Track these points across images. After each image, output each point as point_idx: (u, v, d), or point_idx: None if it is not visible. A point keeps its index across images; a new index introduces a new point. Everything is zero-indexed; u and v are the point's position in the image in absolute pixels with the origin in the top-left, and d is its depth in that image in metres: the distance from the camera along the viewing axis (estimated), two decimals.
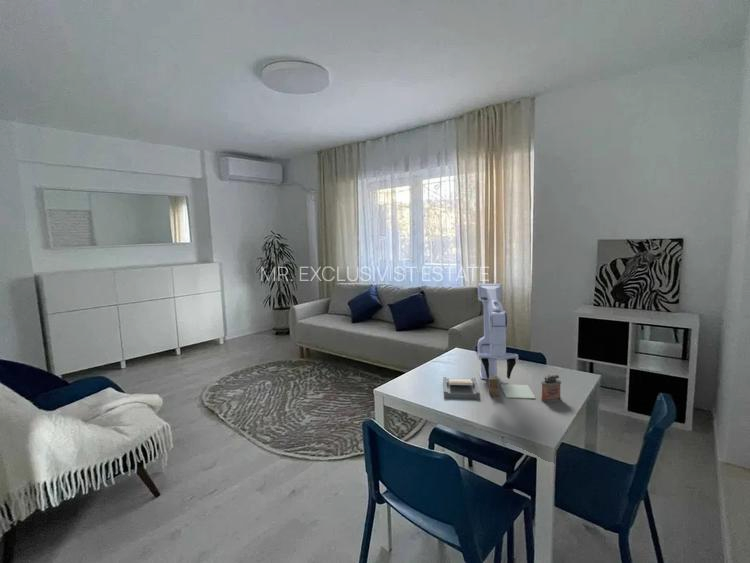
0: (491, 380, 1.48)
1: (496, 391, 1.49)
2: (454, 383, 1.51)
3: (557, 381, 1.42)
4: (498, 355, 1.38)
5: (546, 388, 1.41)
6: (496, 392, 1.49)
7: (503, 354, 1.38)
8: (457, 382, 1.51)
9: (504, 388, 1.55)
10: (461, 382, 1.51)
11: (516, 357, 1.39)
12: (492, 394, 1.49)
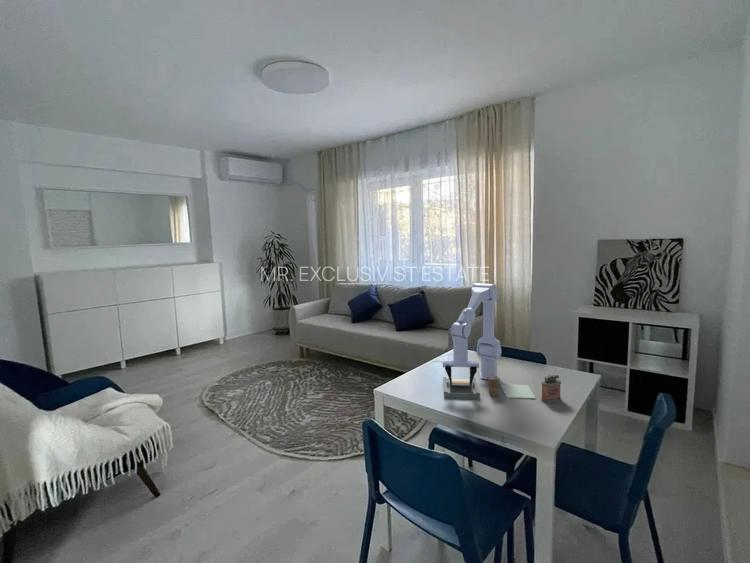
0: (491, 380, 1.48)
1: (496, 391, 1.49)
2: (454, 383, 1.51)
3: (557, 381, 1.42)
4: (460, 363, 1.47)
5: (546, 388, 1.41)
6: (496, 392, 1.49)
7: (465, 362, 1.47)
8: (457, 382, 1.51)
9: (504, 388, 1.55)
10: (461, 382, 1.51)
11: (477, 365, 1.48)
12: (492, 394, 1.49)
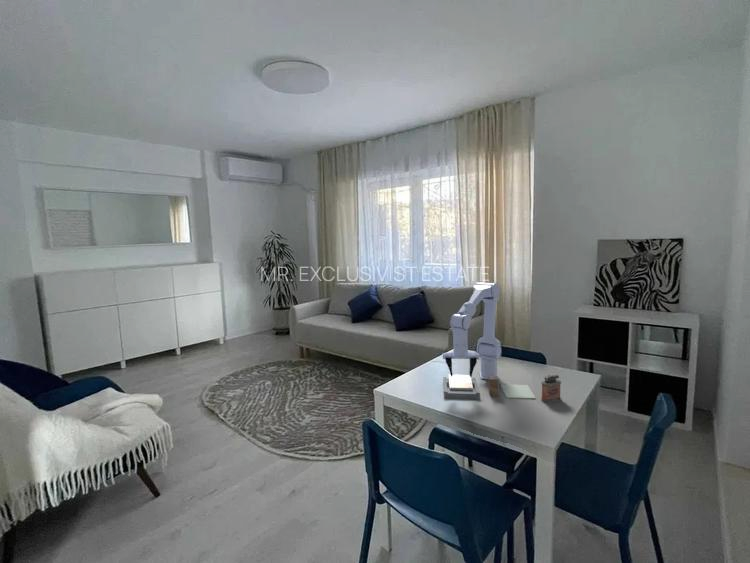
0: (491, 380, 1.48)
1: (496, 391, 1.49)
2: (454, 388, 1.51)
3: (557, 381, 1.42)
4: (460, 355, 1.47)
5: (546, 388, 1.41)
6: (496, 392, 1.49)
7: (465, 354, 1.47)
8: (457, 387, 1.51)
9: (504, 388, 1.55)
10: (461, 386, 1.51)
11: (477, 357, 1.48)
12: (492, 394, 1.49)
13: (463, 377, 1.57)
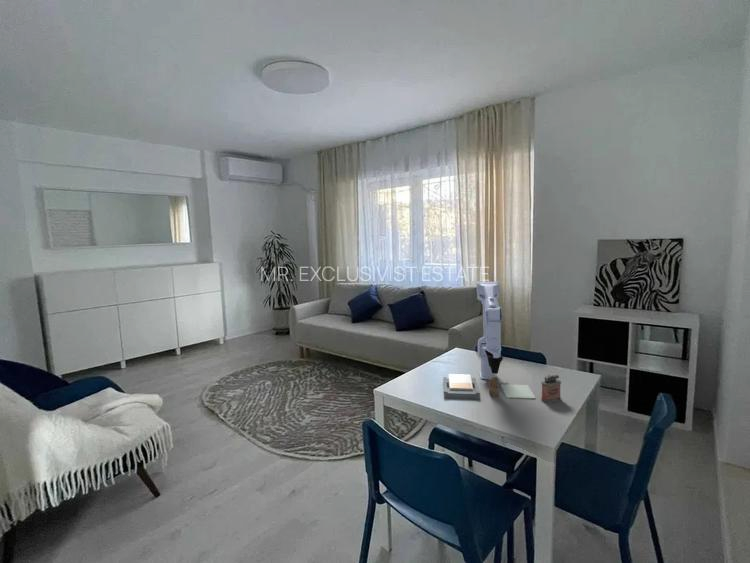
0: (491, 380, 1.48)
1: (496, 391, 1.49)
2: (454, 388, 1.51)
3: (557, 381, 1.42)
4: (485, 346, 1.49)
5: (546, 388, 1.41)
6: (496, 392, 1.49)
7: (487, 347, 1.47)
8: (457, 387, 1.51)
9: (504, 388, 1.55)
10: (461, 387, 1.51)
11: (493, 354, 1.42)
12: (492, 394, 1.49)
13: (463, 377, 1.57)
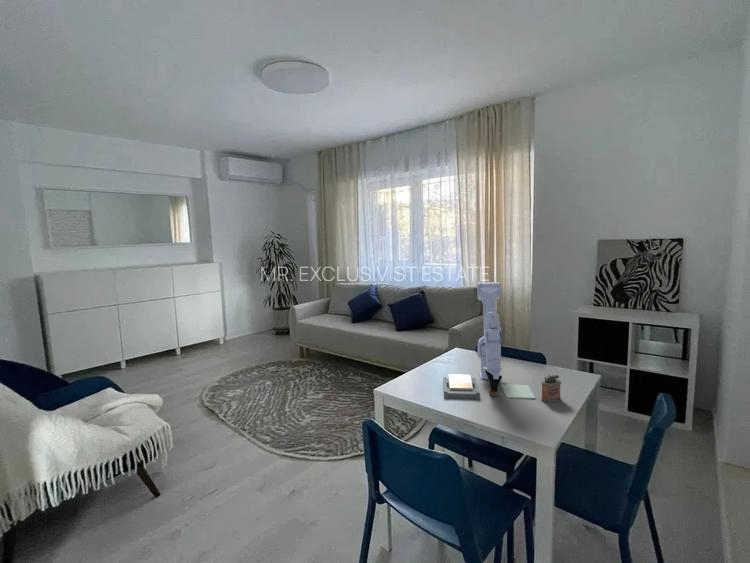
0: None
1: None
2: (454, 388, 1.51)
3: (557, 381, 1.42)
4: (486, 366, 1.50)
5: (546, 388, 1.41)
6: (496, 392, 1.49)
7: (488, 367, 1.48)
8: (457, 387, 1.51)
9: (504, 388, 1.55)
10: (461, 387, 1.51)
11: (493, 375, 1.43)
12: (492, 394, 1.49)
13: (463, 377, 1.57)
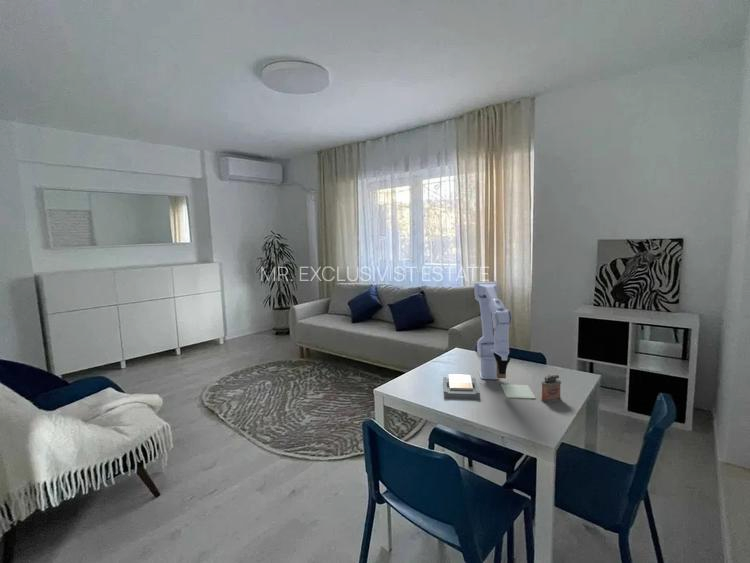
0: None
1: None
2: (454, 388, 1.51)
3: (557, 381, 1.42)
4: (494, 348, 1.50)
5: (546, 388, 1.41)
6: (504, 374, 1.48)
7: (496, 349, 1.48)
8: (457, 387, 1.51)
9: (504, 388, 1.55)
10: (461, 387, 1.51)
11: (501, 357, 1.43)
12: (500, 376, 1.49)
13: (463, 377, 1.57)
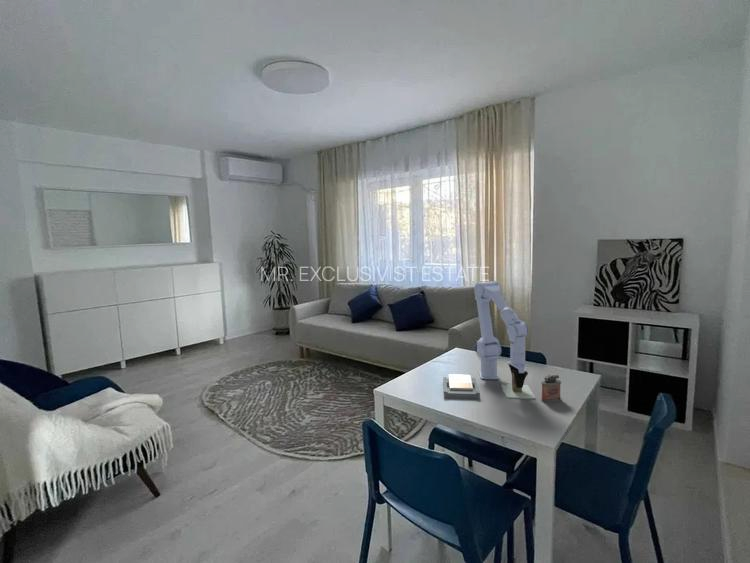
0: None
1: None
2: (454, 388, 1.51)
3: (557, 381, 1.42)
4: (510, 361, 1.51)
5: (546, 388, 1.41)
6: (520, 388, 1.50)
7: (512, 362, 1.49)
8: (457, 387, 1.51)
9: (504, 388, 1.55)
10: (461, 387, 1.51)
11: (518, 369, 1.44)
12: (516, 390, 1.50)
13: (463, 377, 1.57)
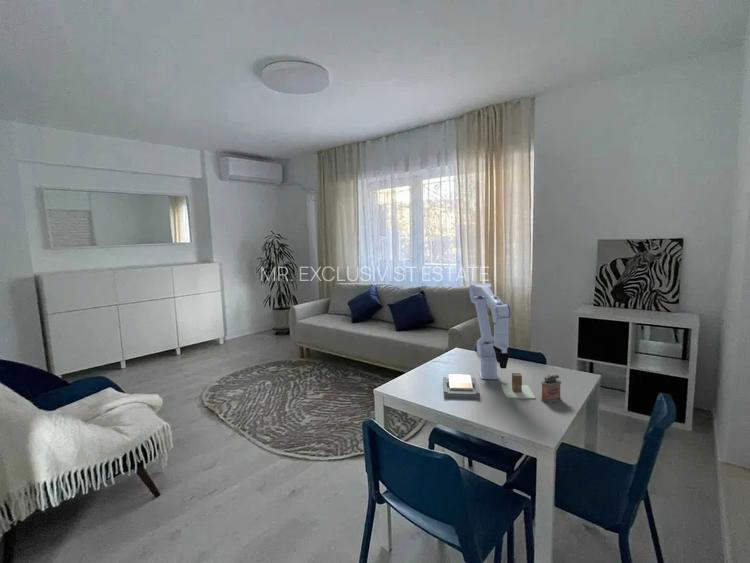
0: (515, 377, 1.50)
1: (520, 387, 1.50)
2: (454, 388, 1.51)
3: (557, 381, 1.42)
4: (494, 342, 1.54)
5: (546, 388, 1.41)
6: (520, 388, 1.50)
7: (496, 343, 1.52)
8: (457, 387, 1.51)
9: (504, 388, 1.55)
10: (461, 387, 1.51)
11: (501, 350, 1.47)
12: (516, 390, 1.50)
13: (463, 377, 1.57)
